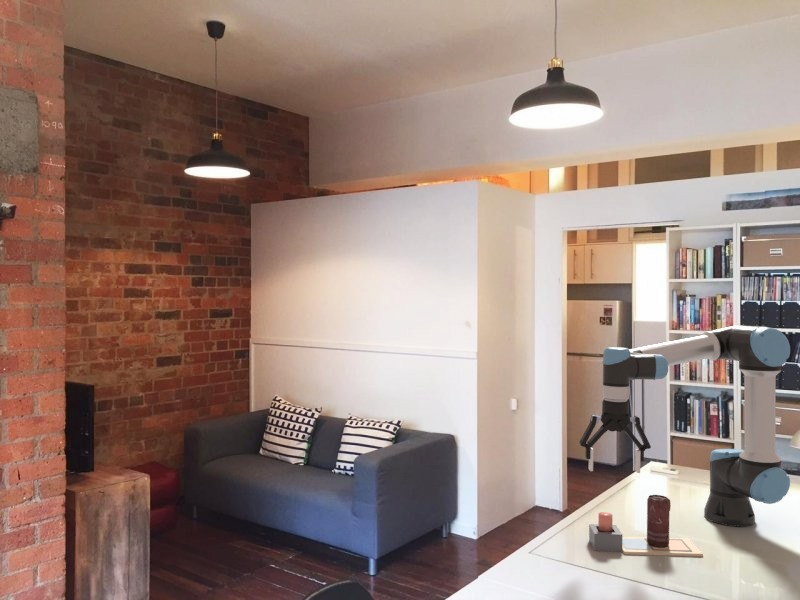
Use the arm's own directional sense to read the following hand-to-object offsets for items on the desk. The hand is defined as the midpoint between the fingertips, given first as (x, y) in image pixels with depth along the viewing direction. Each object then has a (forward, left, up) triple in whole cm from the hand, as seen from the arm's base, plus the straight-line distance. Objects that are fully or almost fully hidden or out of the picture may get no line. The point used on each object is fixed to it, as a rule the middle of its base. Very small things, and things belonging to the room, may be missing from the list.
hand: (614, 471), depth 198 cm
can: (-13, 0, -22) cm, 25 cm away
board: (-12, 0, -23) cm, 26 cm away
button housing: (+3, 0, -23) cm, 23 cm away
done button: (+3, 0, -18) cm, 18 cm away
